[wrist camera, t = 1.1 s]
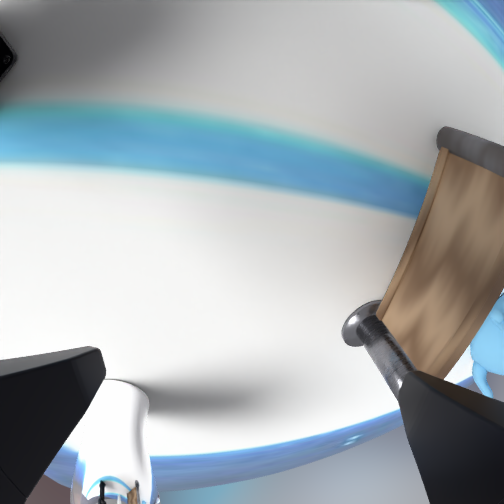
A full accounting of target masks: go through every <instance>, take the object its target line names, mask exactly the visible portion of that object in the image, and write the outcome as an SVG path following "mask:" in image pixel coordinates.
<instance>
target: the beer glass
mask: <svg viewBox="0 0 504 504" xmlns="http://www.w3.org/2000/svg"><path fill="white" fill-rule="evenodd" d="M148 410H149V399H148V397H147V395H146V394H145V393H144V392H143V391H142V390H141V389H139V388H138V387H136V386H134V385H132V384H129V383H126V382H123V381H118V380H104V381H103V382H102V384H101V386H100V388H99V390H98V391H97V393H96V395H95V397H94V399H93V401H92V403H91V404H90V406H89V408H88V409H87V411H86V427H85V433H84V436H83V440H82V443H81V447H80V450H79V453H78V457H77V460H76V464H75V468H74V473H73V478H72V484H71V504H160V499H159V493H158V489H157V484H156V480H155V476H154V472H153V469H152V465H151V461H150V457H149V453H148V449H147V444H146V436H145V427H146V420H147V415H148Z"/></svg>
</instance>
